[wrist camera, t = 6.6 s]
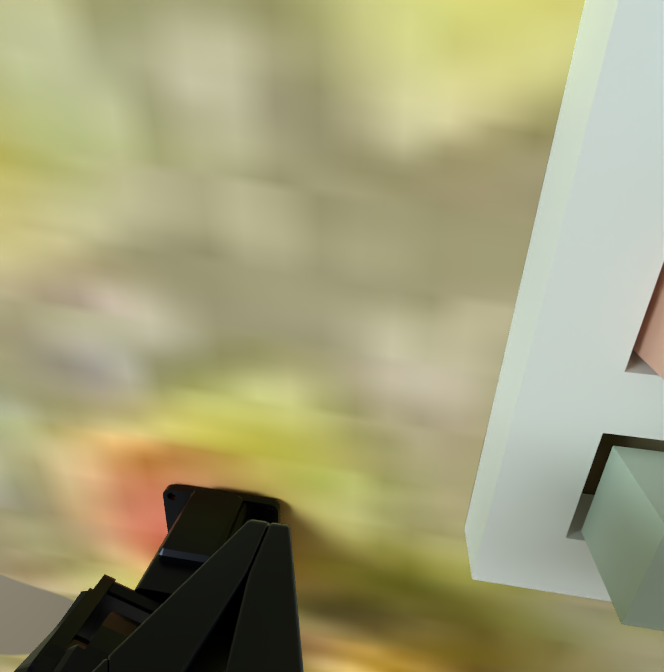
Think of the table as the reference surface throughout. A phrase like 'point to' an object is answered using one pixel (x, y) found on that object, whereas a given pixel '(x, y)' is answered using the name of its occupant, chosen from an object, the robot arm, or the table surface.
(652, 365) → the button terracotta
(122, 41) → the table surface
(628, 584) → the button sage
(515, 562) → the panel
